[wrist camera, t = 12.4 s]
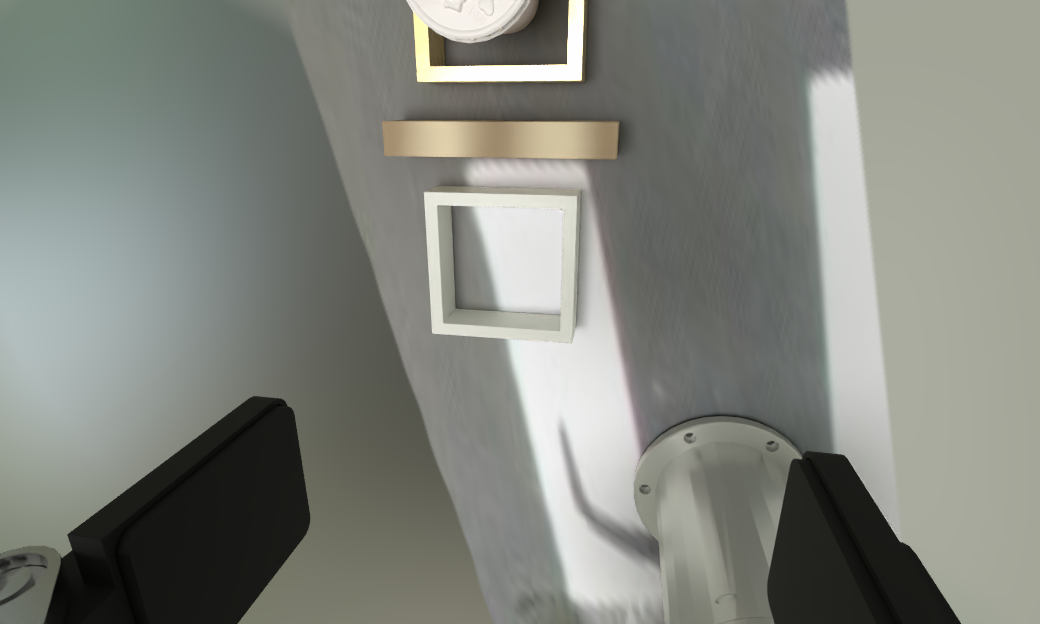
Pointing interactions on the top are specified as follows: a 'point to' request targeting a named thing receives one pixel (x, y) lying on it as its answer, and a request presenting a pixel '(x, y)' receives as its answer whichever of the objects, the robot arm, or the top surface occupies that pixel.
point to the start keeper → (442, 264)
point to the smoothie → (474, 17)
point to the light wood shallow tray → (436, 72)
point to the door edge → (502, 139)
